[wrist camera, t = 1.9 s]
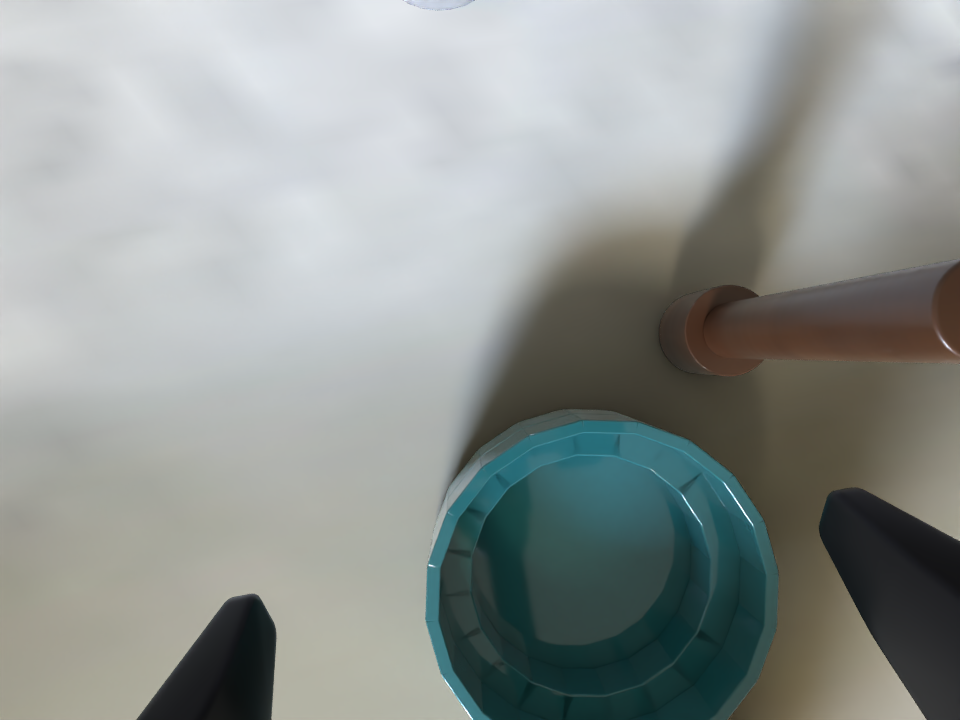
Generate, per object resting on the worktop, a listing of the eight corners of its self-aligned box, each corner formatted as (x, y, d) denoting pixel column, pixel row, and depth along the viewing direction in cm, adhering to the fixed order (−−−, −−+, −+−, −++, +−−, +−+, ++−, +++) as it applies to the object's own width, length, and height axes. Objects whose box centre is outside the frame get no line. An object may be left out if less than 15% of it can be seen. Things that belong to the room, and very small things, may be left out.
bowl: (717, 701, 26) (771, 775, 21) (427, 696, 25) (420, 771, 21) (728, 412, 25) (785, 425, 21) (437, 403, 25) (432, 414, 21)
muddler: (736, 374, 25) (1070, 401, 11) (657, 372, 25) (895, 396, 11) (739, 294, 25) (1079, 222, 11) (660, 291, 25) (903, 215, 11)
